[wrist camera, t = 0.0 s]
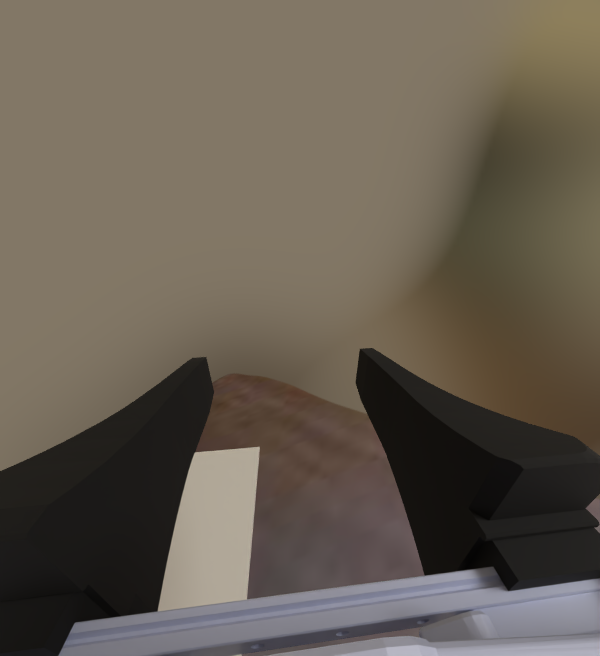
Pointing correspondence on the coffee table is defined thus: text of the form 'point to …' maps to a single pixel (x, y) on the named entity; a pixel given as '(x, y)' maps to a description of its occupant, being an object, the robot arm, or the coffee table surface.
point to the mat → (213, 531)
